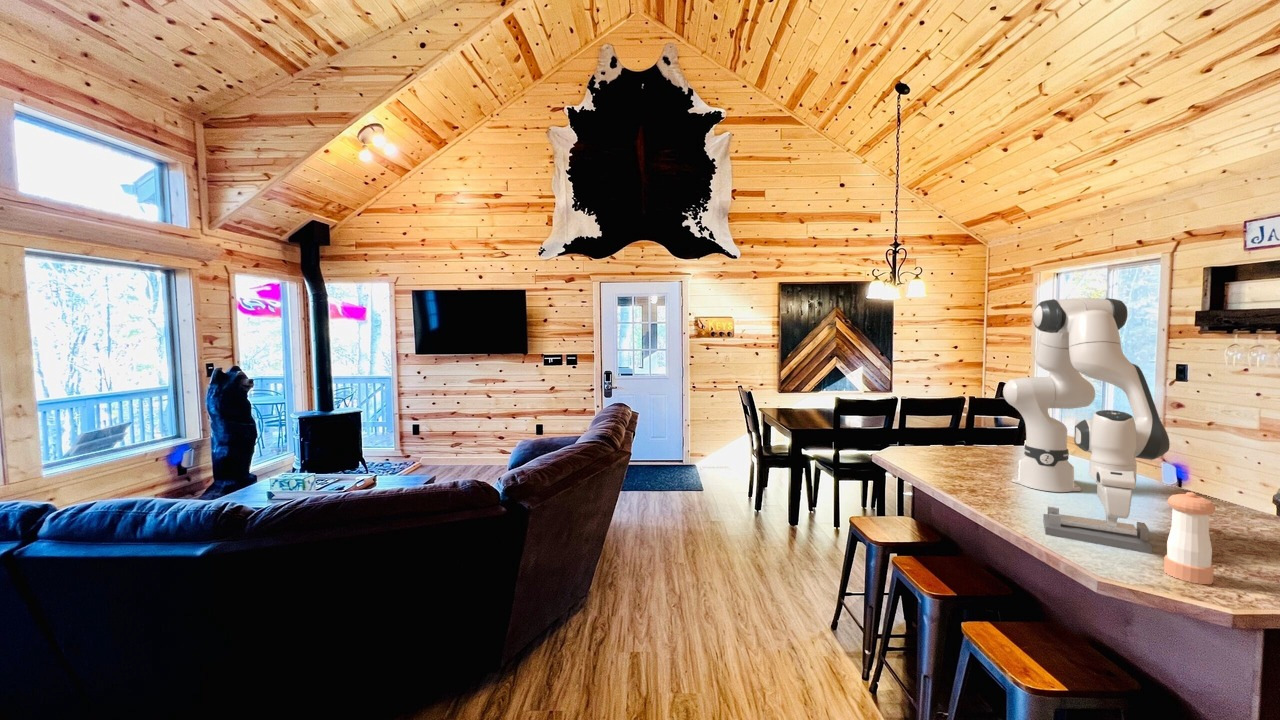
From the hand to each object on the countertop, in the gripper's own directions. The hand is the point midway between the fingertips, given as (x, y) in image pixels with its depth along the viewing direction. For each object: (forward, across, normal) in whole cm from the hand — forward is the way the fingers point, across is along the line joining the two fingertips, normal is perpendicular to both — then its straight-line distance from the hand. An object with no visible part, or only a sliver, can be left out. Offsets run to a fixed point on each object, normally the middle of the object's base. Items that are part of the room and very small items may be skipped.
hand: (1111, 524), depth 127 cm
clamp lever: (+2, -1, -4) cm, 4 cm away
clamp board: (+4, -1, -4) cm, 5 cm away
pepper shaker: (+4, +16, +10) cm, 20 cm away
